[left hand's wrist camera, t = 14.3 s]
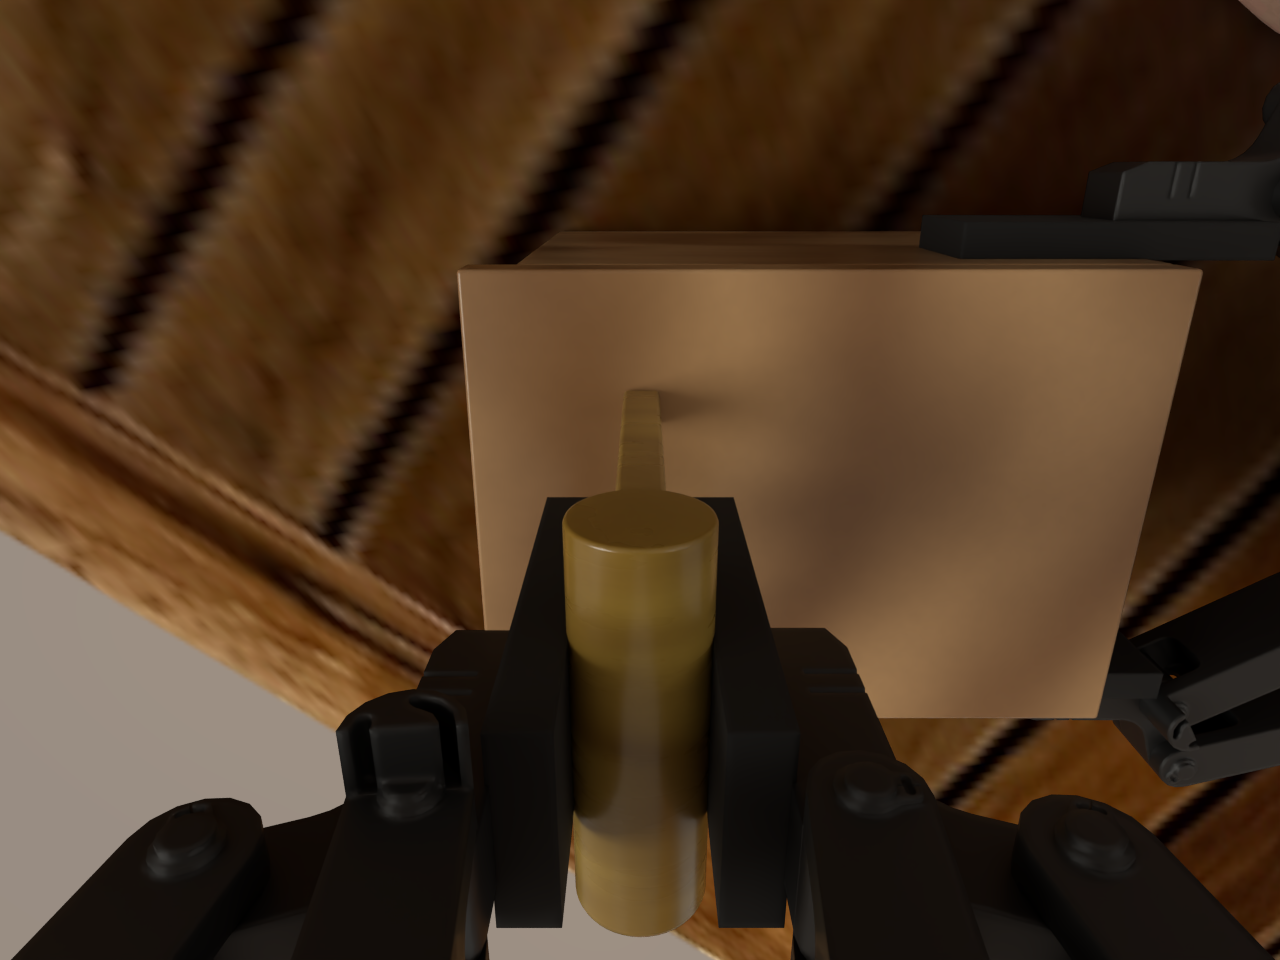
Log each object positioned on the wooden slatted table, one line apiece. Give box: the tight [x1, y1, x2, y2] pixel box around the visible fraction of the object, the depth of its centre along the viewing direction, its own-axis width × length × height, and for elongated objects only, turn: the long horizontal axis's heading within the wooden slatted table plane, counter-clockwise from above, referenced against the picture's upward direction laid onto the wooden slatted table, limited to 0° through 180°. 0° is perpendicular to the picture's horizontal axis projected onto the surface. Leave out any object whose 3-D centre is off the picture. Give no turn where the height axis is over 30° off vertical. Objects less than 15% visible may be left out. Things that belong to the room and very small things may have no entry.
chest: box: [517, 231, 1173, 265], centre depth 22 cm, size 13×10×9 cm
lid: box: [457, 265, 1203, 937], centre depth 14 cm, size 14×10×8 cm
